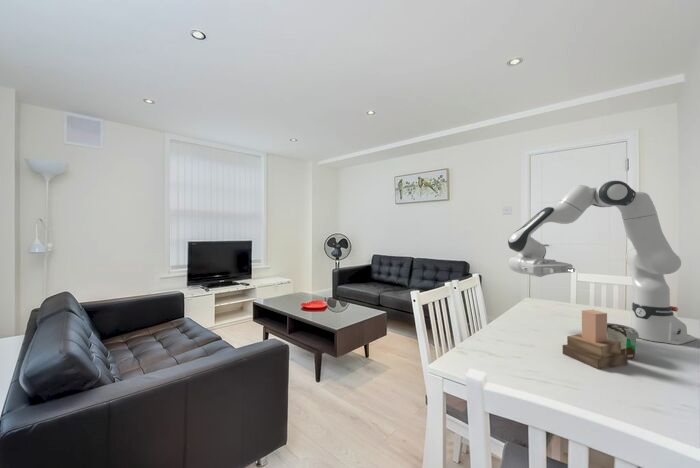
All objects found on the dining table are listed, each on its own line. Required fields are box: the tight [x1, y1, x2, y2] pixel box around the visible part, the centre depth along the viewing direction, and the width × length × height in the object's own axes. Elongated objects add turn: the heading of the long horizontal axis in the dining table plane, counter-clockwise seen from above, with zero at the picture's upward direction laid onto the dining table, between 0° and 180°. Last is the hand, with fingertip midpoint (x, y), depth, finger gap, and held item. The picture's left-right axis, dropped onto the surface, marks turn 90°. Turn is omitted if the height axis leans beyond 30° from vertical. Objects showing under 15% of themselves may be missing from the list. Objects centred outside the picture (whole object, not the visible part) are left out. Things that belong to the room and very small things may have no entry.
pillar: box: [581, 309, 608, 342], centre depth 107 cm, size 5×5×10 cm
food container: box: [607, 322, 640, 360], centre depth 111 cm, size 12×6×10 cm, turn 168°
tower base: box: [562, 344, 629, 370], centre depth 107 cm, size 13×13×4 cm
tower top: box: [566, 332, 621, 358], centre depth 107 cm, size 11×11×4 cm
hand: (564, 270), depth 125 cm, fingers open, 8 cm apart
